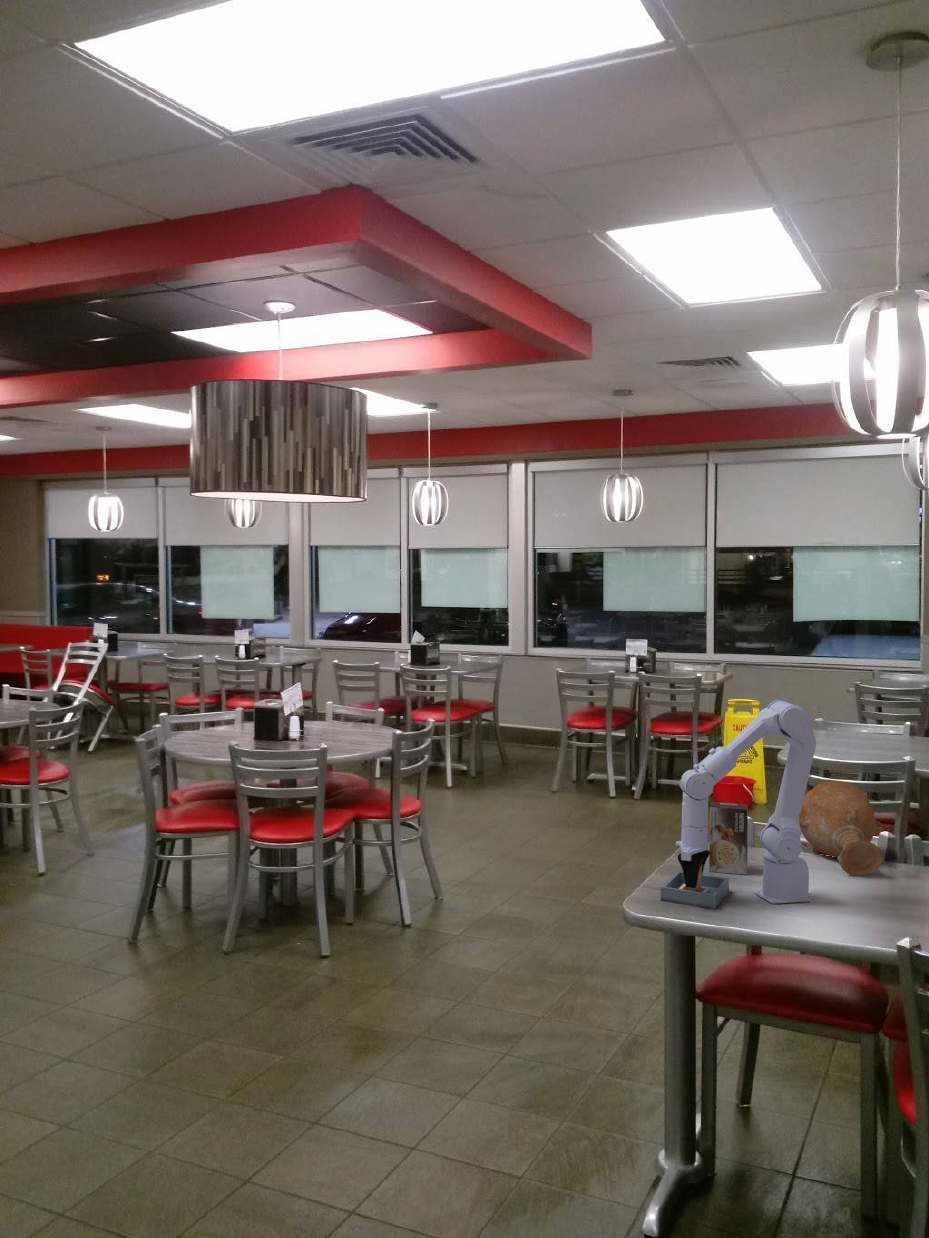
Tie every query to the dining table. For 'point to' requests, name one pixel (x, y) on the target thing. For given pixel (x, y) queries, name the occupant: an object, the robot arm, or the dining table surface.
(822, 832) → the jug
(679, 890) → the tray box
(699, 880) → the peg
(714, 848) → the coffee box
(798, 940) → the dining table surface
